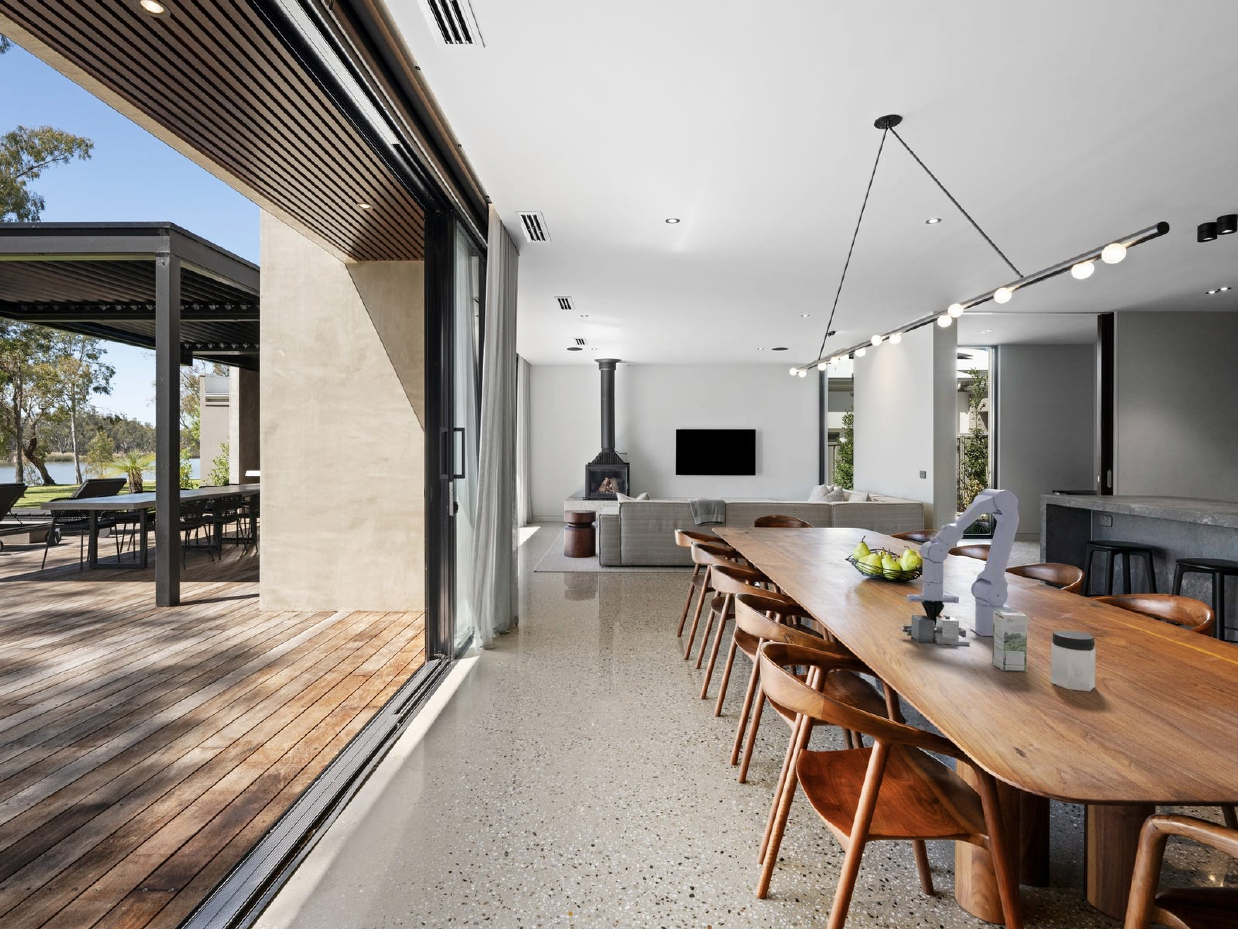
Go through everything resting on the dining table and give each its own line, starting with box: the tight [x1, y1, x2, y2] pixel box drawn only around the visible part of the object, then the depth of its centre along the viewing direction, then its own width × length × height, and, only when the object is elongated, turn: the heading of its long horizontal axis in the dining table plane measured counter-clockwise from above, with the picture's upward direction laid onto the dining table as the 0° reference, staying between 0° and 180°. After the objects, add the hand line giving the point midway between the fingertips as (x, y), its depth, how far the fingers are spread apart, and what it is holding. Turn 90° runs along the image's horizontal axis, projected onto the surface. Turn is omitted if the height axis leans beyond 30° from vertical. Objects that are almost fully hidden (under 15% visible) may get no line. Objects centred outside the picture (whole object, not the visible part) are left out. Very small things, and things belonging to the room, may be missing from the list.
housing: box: [936, 615, 960, 640], centre depth 189 cm, size 4×4×6 cm
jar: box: [1050, 629, 1096, 692], centre depth 152 cm, size 9×8×12 cm
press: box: [902, 614, 971, 646], centre depth 192 cm, size 17×15×6 cm
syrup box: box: [991, 609, 1029, 673], centre depth 164 cm, size 6×6×14 cm
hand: (932, 625), depth 197 cm, fingers closed
